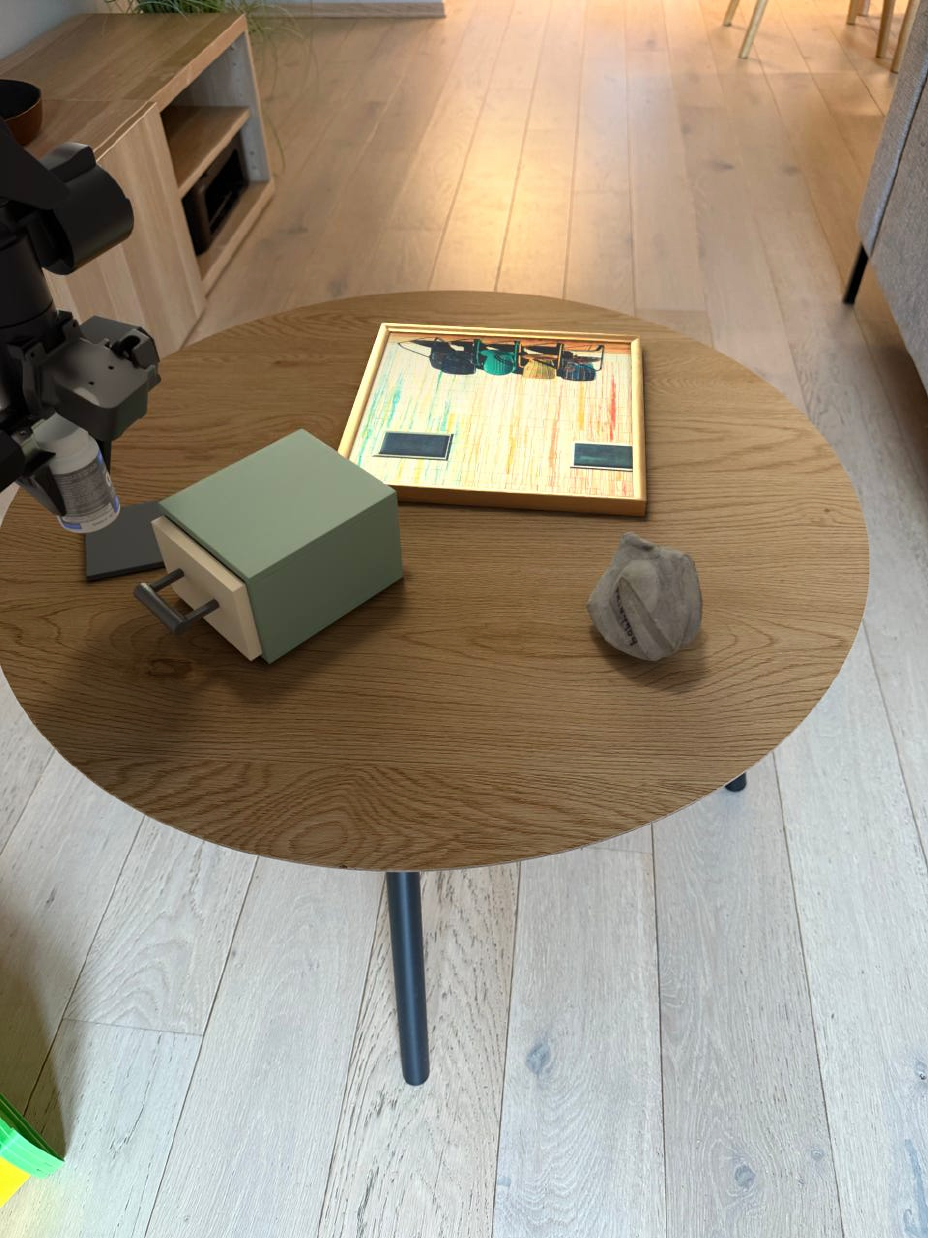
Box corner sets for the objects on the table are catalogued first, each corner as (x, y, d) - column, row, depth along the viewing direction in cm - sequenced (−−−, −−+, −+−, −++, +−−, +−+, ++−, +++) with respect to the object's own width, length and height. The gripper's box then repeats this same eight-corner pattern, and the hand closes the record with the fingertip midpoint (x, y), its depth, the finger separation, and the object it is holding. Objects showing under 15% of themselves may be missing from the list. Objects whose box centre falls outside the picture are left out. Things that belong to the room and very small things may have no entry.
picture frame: (641, 334, 108) (646, 500, 88) (639, 349, 110) (644, 516, 89) (381, 322, 111) (327, 481, 90) (383, 337, 112) (329, 496, 92)
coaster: (88, 581, 84) (86, 576, 83) (86, 518, 90) (84, 513, 89) (191, 561, 85) (189, 556, 85) (182, 500, 91) (181, 495, 91)
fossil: (561, 602, 81) (568, 531, 75) (650, 570, 84) (662, 499, 78) (632, 692, 74) (645, 621, 68) (726, 654, 77) (747, 582, 71)
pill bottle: (133, 512, 74) (101, 422, 68) (81, 543, 72) (43, 453, 65) (99, 487, 76) (65, 398, 70) (47, 516, 74) (7, 427, 68)
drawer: (206, 690, 74) (183, 620, 68) (130, 615, 79) (103, 546, 74) (378, 578, 82) (371, 509, 76) (298, 519, 88) (286, 450, 82)
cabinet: (269, 664, 77) (248, 578, 70) (184, 588, 83) (157, 502, 76) (403, 576, 84) (396, 490, 77) (315, 512, 90) (301, 427, 83)
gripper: (0, 410, 53) (86, 604, 64) (194, 265, 65) (238, 451, 76) (-145, 369, 56) (-38, 561, 67) (65, 237, 68) (126, 420, 79)
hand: (82, 495), depth 72 cm, fingers closed on pill bottle, 5 cm apart
